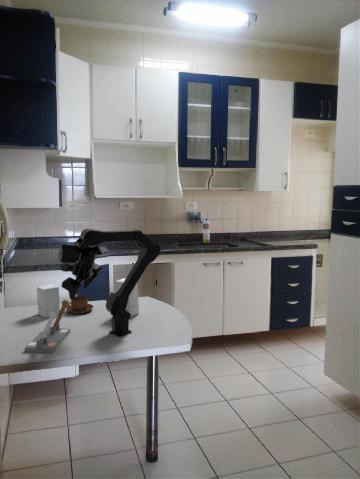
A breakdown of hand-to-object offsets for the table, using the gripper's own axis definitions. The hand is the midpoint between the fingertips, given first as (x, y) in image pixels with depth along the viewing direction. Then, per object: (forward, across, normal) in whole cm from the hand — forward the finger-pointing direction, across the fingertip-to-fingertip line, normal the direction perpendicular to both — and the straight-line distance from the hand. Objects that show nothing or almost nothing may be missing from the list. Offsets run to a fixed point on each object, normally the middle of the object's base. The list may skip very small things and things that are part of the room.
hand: (78, 293), depth 161 cm
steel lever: (+8, +22, +1) cm, 23 cm away
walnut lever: (+12, +10, -1) cm, 16 cm away
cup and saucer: (+25, -17, -5) cm, 30 cm away
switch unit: (+13, +16, +1) cm, 21 cm away
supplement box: (+27, -8, -15) cm, 32 cm away
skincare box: (+16, -21, +16) cm, 31 cm away
